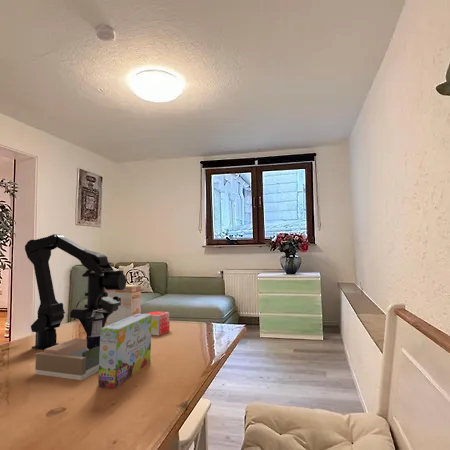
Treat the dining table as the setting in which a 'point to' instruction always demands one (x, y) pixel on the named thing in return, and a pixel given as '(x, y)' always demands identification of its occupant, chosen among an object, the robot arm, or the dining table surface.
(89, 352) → the grey flat plate
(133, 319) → the snack box
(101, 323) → the beverage can
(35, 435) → the dining table surface
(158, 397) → the dining table surface
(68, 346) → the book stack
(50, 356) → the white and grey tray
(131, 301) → the coffeecake box
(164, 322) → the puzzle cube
